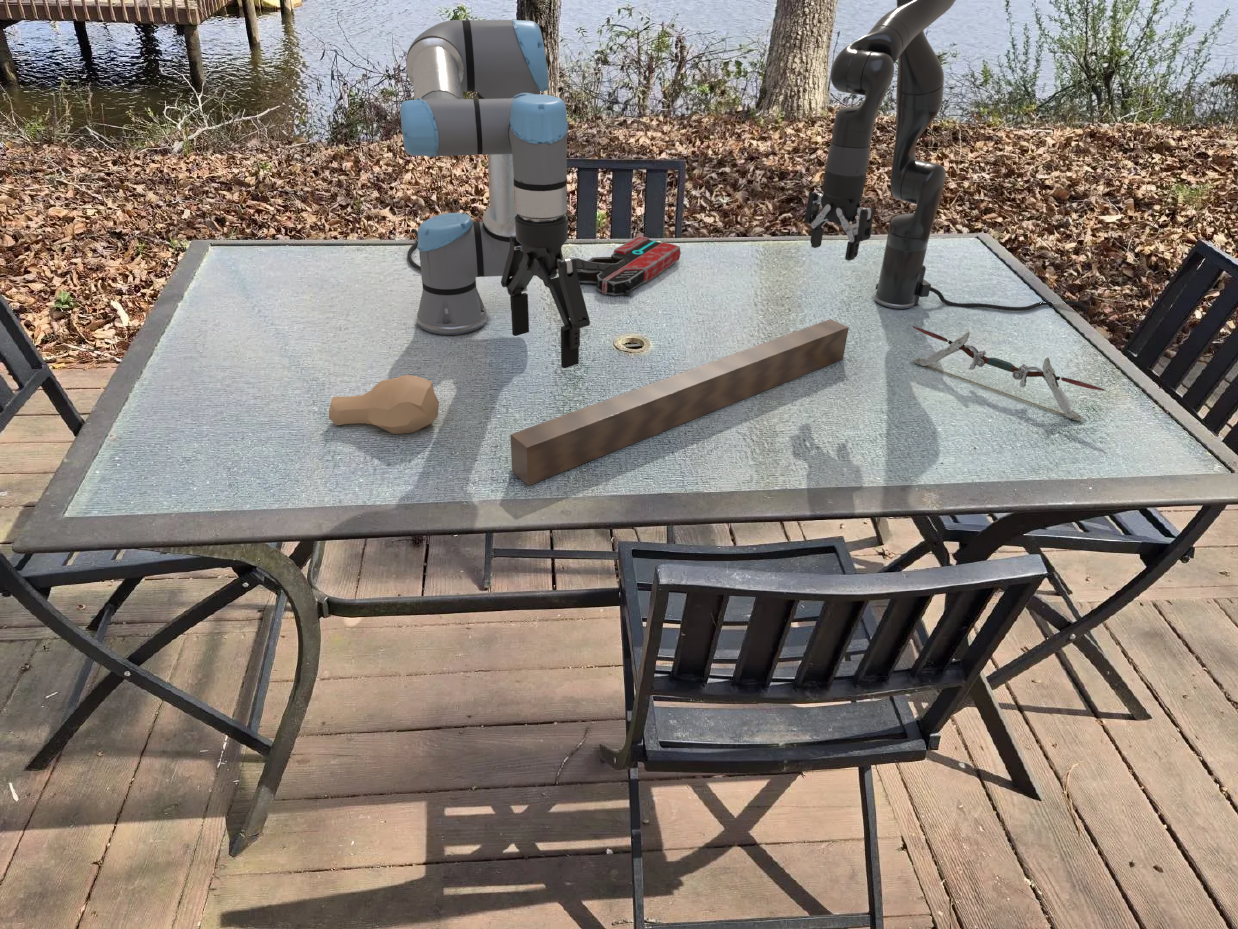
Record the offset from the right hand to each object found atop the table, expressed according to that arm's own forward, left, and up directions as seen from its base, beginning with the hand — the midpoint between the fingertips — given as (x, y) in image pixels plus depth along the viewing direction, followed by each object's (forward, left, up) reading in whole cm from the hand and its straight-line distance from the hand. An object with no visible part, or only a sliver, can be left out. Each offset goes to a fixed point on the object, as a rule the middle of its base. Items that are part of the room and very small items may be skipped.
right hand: (832, 253), depth 171 cm
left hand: (+62, +28, -1) cm, 68 cm away
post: (+31, +14, -24) cm, 41 cm away
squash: (+88, +7, -24) cm, 91 cm away
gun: (+27, -57, -24) cm, 67 cm away
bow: (-31, +18, -24) cm, 43 cm away
